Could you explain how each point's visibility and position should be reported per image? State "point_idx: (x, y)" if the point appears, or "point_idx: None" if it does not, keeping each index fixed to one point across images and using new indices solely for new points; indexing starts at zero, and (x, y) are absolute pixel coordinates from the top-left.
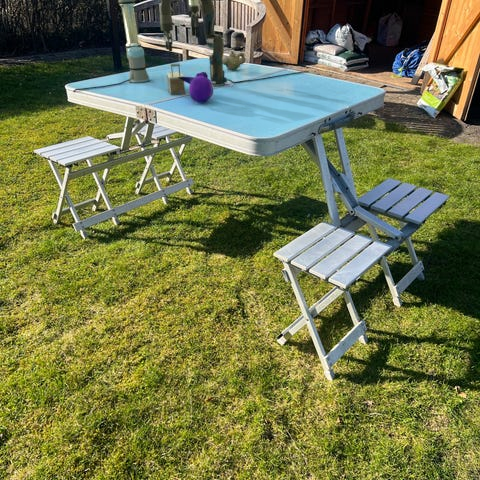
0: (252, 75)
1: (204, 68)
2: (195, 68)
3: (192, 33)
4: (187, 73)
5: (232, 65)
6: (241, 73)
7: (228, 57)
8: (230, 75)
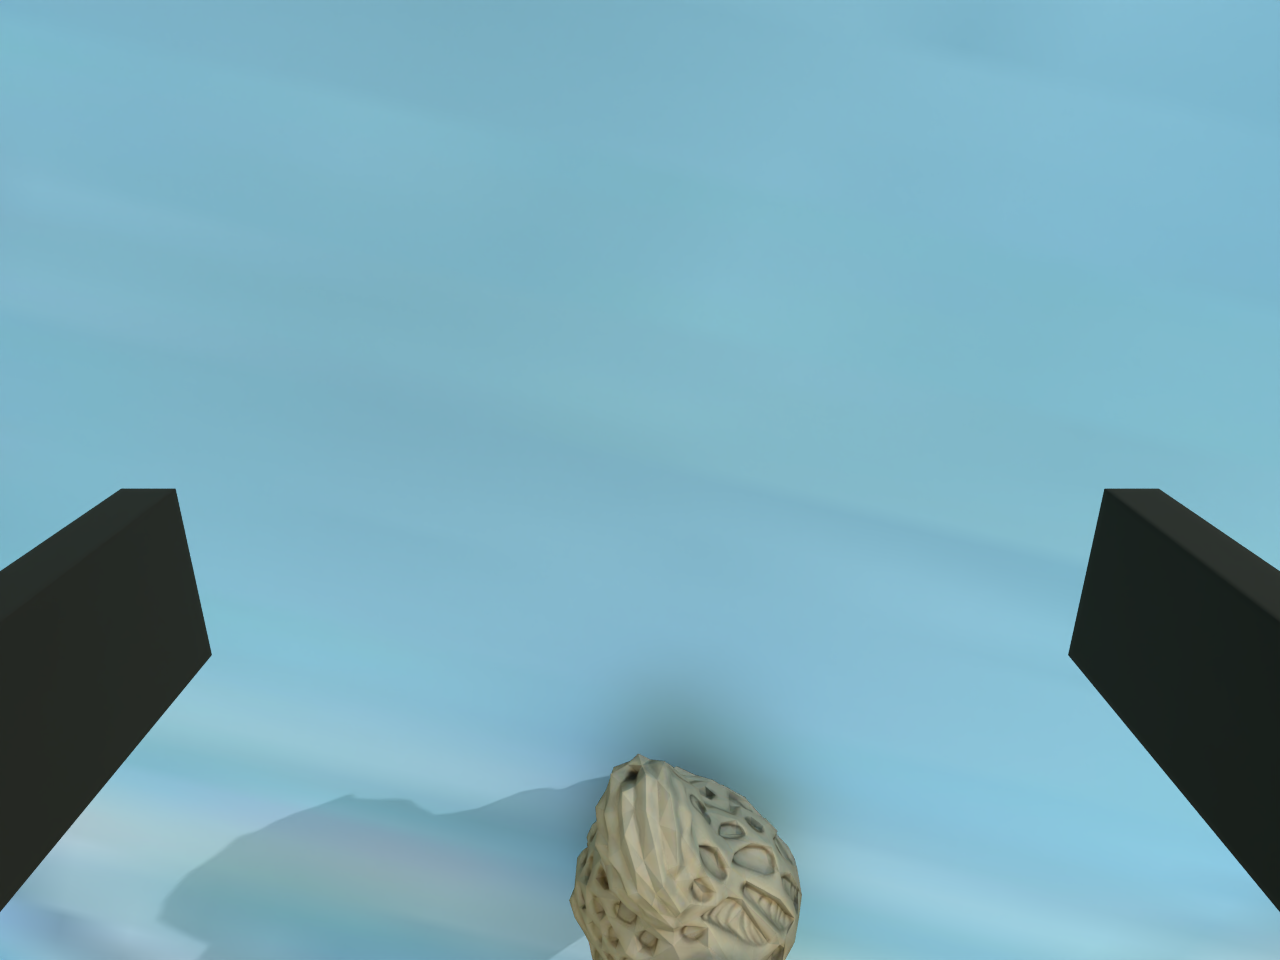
0: (231, 918)
1: (1078, 500)
2: (1177, 356)
3: (1170, 568)
4: (746, 86)
5: (580, 858)
6: (412, 850)
7: (659, 923)
8: (307, 698)
